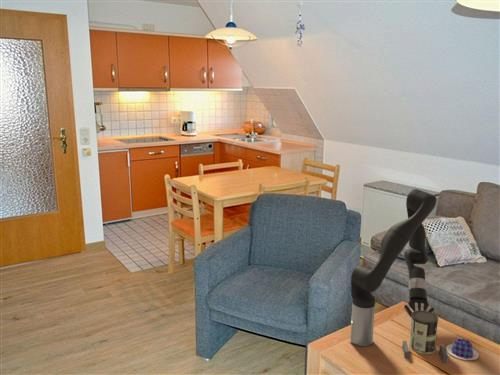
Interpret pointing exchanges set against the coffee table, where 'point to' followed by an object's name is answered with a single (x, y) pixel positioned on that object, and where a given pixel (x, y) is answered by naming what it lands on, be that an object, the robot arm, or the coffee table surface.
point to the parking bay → (442, 351)
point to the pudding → (462, 349)
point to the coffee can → (423, 332)
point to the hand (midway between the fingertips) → (419, 328)
